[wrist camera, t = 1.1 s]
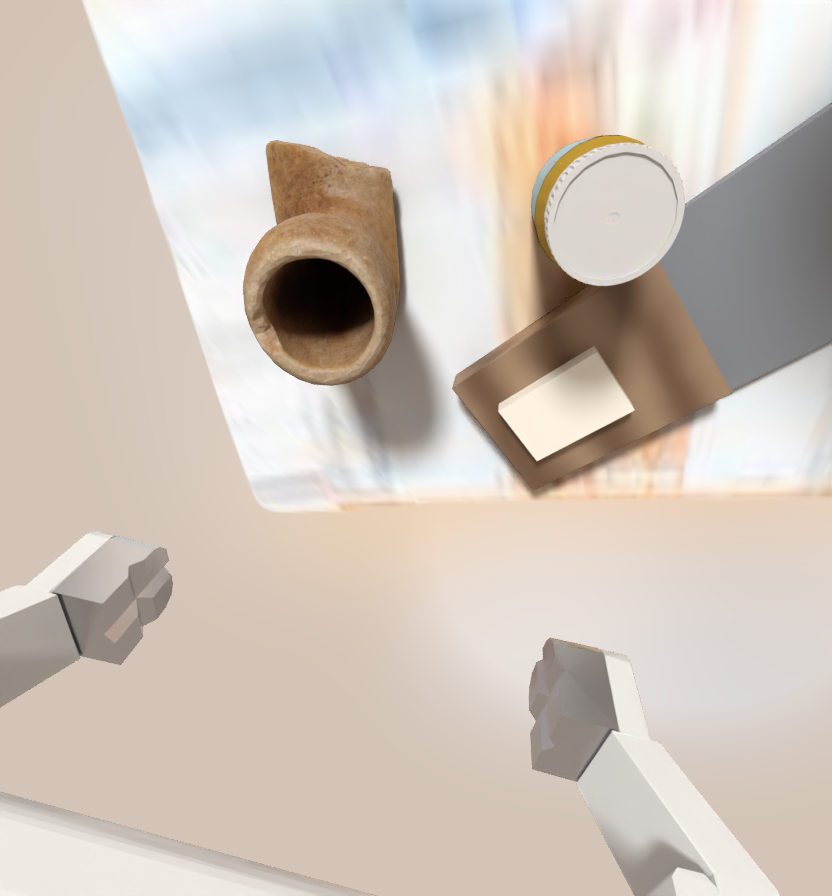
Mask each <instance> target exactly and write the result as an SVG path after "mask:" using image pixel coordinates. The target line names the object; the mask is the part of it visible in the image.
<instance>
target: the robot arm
mask: <svg viewBox="0 0 832 896" xmlns="http://www.w3.org/2000/svg"><path fill="white" fill-rule="evenodd" d="M168 561H169V559H168V555H167V551H166V549H164V548H161V547H158V546H154V545H150V544H146V543H142V542H139V541H135V540H131V539H127V538H124V537H120V536H115V535H111V534H107V533H103V532H99V531H93V532H91V533H88V534H86V535H84V537H82V538H81V539H80V540H79V541H77V542H76V543H75V544H74V545H73V546H72V547H70V548H69V549H68V550H67V551H66V552H65V553H63V554H62V555H61V556H60V557H59V558H58V559H56V560H55V561H54V562H53V563H52V564H51V565H49V566H48V567H47V568H46V569H45V570H43V571H42V572H41V573H40V574H39V575H38V576H36V577H35V578H34V579H33V580H32V581H31V582H29V583H28V584H27V585H26V586H21V585H16V586H13V587H11V588H8V589H6V590H3V591H0V707H2V706H3V705H5V704H7V703H8V702H10V701H12V700H13V699H15V698H16V697H18V696H20V695H21V694H23V693H24V692H26V691H28V690H30V689H31V688H33V687H34V686H36V685H37V684H39V683H41V682H43V681H44V680H46V679H47V678H49V677H51V676H52V675H54V674H56V673H57V672H59V671H60V670H62V669H64V668H65V667H67V666H69V665H70V664H72V663H74V662H75V661H77V660H79V659H80V656H83V657H87V658H92V659H96V660H101V661H106V662H110V663H114V664H119V665H121V664H122V663H123V661H124V660H125V659H126V658H127V656H128V655H129V654H130V652H131V651H132V650H133V649H134V647H135V646H136V645H137V644H138V642H139V641H140V640H141V639H142V637H143V626H144V625H146V624H148V623H150V622H152V621H154V620H156V619H157V618H158V617H159V615H160V614H161V613H162V611H163V610H164V609H165V607H166V605H167V603H168V601H169V598H170V596H171V593H172V585H173V583H172V576H171V574H170V573H169V572H168V571H167V570H166V569H165V568H164V566H165V564H166V563H167V562H168ZM529 711H530V712H531V714H532V715H533V717H534V718H535V720H536V723H535V725H534V727H533V729H532V731H531V733H530V736H531V755H532V769H534V770H537V771H541V772H544V773H548V774H551V775H555V776H558V777H562V778H565V779H569V780H573V781H576V782H577V783H576V785H577V787H578V789H579V791H580V792H581V794H582V796H583V798H584V800H585V802H586V804H587V806H588V807H589V810H590V811H591V813H592V815H593V817H594V819H595V821H596V823H597V825H598V827H599V829H600V831H601V832H602V834H603V836H604V838H605V840H606V842H607V844H608V846H609V848H610V850H611V852H612V853H613V855H614V857H615V859H616V861H617V863H618V865H619V867H620V869H621V871H622V873H623V875H624V876H625V878H626V880H627V882H628V884H629V886H630V888H631V890H632V892H633V894H634V895H635V896H779V893H778V891H777V890H776V888H775V887H774V886H773V885H772V883H771V882H770V881H769V880H768V878H767V877H766V876H765V875H764V873H763V872H762V871H761V870H760V868H759V867H758V866H757V864H756V863H755V862H754V861H753V860H752V858H751V857H750V856H749V854H748V853H747V852H746V851H745V849H744V848H743V847H742V846H741V844H740V843H739V842H738V841H737V839H736V838H735V837H734V836H733V834H732V833H731V832H730V831H729V829H728V828H727V827H726V825H725V824H724V823H723V822H722V820H721V819H720V818H719V817H718V815H717V814H716V813H715V812H714V810H713V809H712V808H711V807H710V805H709V804H708V803H707V802H706V800H705V799H704V798H703V797H702V795H701V794H700V793H699V792H698V790H697V789H696V788H695V787H694V785H693V784H692V783H691V781H690V780H689V779H688V778H687V777H686V775H685V774H684V773H683V771H682V770H681V769H680V768H679V766H678V765H677V764H676V763H675V761H674V760H673V759H672V758H671V756H670V755H669V754H668V753H667V751H666V750H665V749H664V748H663V746H662V745H661V744H660V743H659V742H657V741H653V740H651V738H650V734H649V730H648V727H647V723H646V719H645V715H644V712H643V708H642V704H641V700H640V696H639V693H638V689H637V685H636V682H635V677H634V674H633V670H632V666H631V662H630V660H629V659H628V657H627V656H626V655H622V654H618V653H614V652H609V651H605V650H600V649H598V648H594V647H590V646H585V645H581V644H576V643H572V642H567V641H562V640H558V639H554V638H549V639H548V640H547V641H546V643H545V645H544V647H543V660H541V661H538V662H536V665H535V668H534V670H533V672H532V677H531V682H530V687H529ZM0 896H376V895H372V894H369V893H365V892H361V891H358V890H354V889H351V888H347V887H343V886H340V885H336V884H332V883H329V882H325V881H322V880H318V879H314V878H311V877H307V876H303V875H300V874H296V873H293V872H289V871H286V870H282V869H278V868H275V867H271V866H268V865H264V864H260V863H257V862H253V861H249V860H245V859H242V858H239V857H235V856H231V855H228V854H224V853H221V852H217V851H213V850H210V849H206V848H202V847H199V846H195V845H191V844H188V843H184V842H181V841H177V840H174V839H169V838H166V837H162V836H159V835H155V834H152V833H148V832H145V831H141V830H137V829H133V828H130V827H126V826H122V825H119V824H116V823H112V822H108V821H105V820H101V819H98V818H94V817H90V816H87V815H83V814H79V813H76V812H72V811H69V810H65V809H61V808H57V807H54V806H50V805H47V804H43V803H40V802H36V801H32V800H29V799H25V798H22V797H18V796H14V795H11V794H7V793H4V792H0Z"/></svg>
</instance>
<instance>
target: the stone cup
mask: <svg viewBox="0 0 832 896" xmlns="http://www.w3.org/2000/svg"><path fill="white" fill-rule="evenodd" d="M266 156H267V164H268V172H269V179H270V186H271V193H272V200H273V205H274V211H275V217H276V222H277V225H276V226H275V227H273V228H272V229H271V230H269V231H268V232H267V233H266V234H265V235H264V236H263V237H262V239H261V240H260V241H259V243H258V244H257V246H256V248H255V249H254V251H253V252H252V254H251V256H250V258H249V261H248V263H247V266H246V271H245V276H244V283H243V294H244V305H245V312H246V315H247V318H248V321H249V324H250V327H251V329H252V331H253V333H254V335H255V337H256V339H257V341H258V342H259V344H260V346H261V347H262V349H263V350H264V351H265V352H266V353H267V355H268V356H269V357H270V358H271V359H272V360H273V362H274V363H275V364H276V365H278V366H279V367H280V368H281V369H282V370H284V371H285V372H287V373H289V374H290V375H292V376H294V377H296V378H297V379H299V380H302V381H305V382H308V383H311V384H316V385H331V386H332V385H339V384H345V383H348V382H351V381H353V380H356V379H358V378H360V377H362V376H364V375H365V374H366V373H368V372H369V371H370V370H371V369H373V368H374V367H375V366H376V365H377V363H378V362H379V361H380V360H381V359H382V357H383V356H384V354H385V352H386V350H387V348H388V346H389V344H390V341H391V338H392V334H393V329H394V323H395V317H396V312H397V306H398V299H399V288H400V278H399V257H398V245H397V233H396V223H395V213H394V203H393V187H392V180H391V175H390V171H389V170H388V169H386V168H381V167H375V166H369V165H367V164H366V163H361V162H354V161H349V160H348V159H344V158H340V157H333V156H331V155H328V154H326V153H324V152H322V151H320V150H319V149H317V148H315V147H310V146H306V145H301V144H294V143H288V142H282V141H278V140H276V141H270V142H269V143H268V144H267V146H266Z"/></svg>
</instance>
